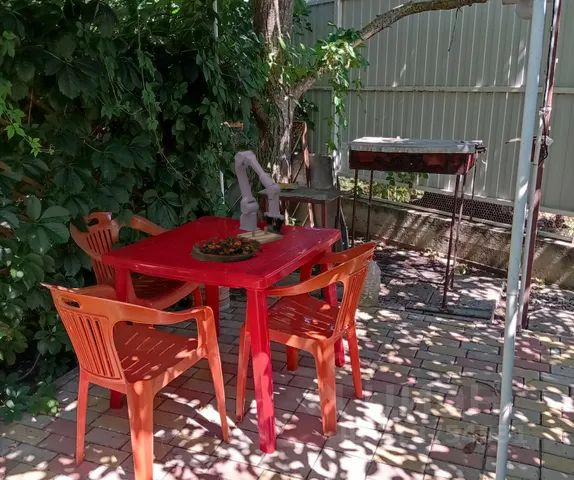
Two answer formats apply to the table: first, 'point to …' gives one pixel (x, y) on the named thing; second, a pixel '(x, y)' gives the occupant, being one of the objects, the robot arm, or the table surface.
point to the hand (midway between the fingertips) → (274, 230)
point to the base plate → (261, 236)
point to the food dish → (226, 250)
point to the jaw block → (272, 228)
